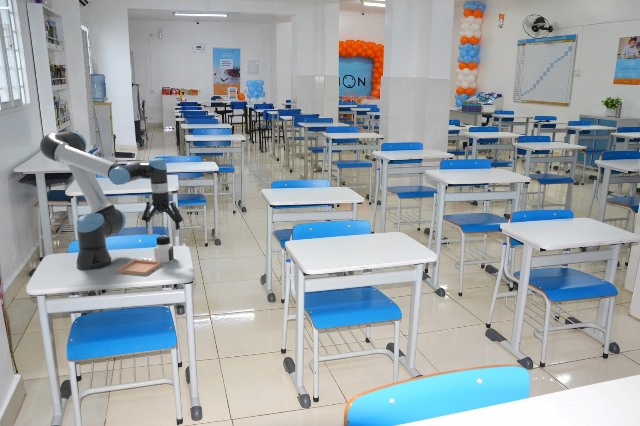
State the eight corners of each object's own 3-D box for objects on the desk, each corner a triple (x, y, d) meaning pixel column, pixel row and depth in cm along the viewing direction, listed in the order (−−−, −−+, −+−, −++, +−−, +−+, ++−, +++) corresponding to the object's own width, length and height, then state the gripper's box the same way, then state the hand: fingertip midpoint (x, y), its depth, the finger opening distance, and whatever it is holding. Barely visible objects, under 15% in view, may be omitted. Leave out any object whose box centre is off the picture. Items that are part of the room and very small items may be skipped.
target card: (135, 262, 250) (135, 260, 250) (141, 258, 255) (141, 257, 255) (147, 263, 249) (147, 261, 249) (152, 259, 254) (152, 258, 254)
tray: (117, 272, 236) (116, 269, 236) (134, 262, 250) (134, 259, 249) (145, 275, 233) (145, 272, 233) (161, 265, 247) (161, 261, 246)
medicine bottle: (169, 263, 250) (168, 238, 247) (154, 262, 250) (153, 238, 247) (173, 258, 257) (172, 234, 254) (159, 258, 257) (157, 234, 254)
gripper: (131, 192, 244) (135, 236, 249) (180, 194, 239) (183, 238, 244) (140, 189, 251) (144, 231, 256) (188, 191, 246) (191, 234, 251)
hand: (163, 235), depth 250 cm, fingers open, 13 cm apart
